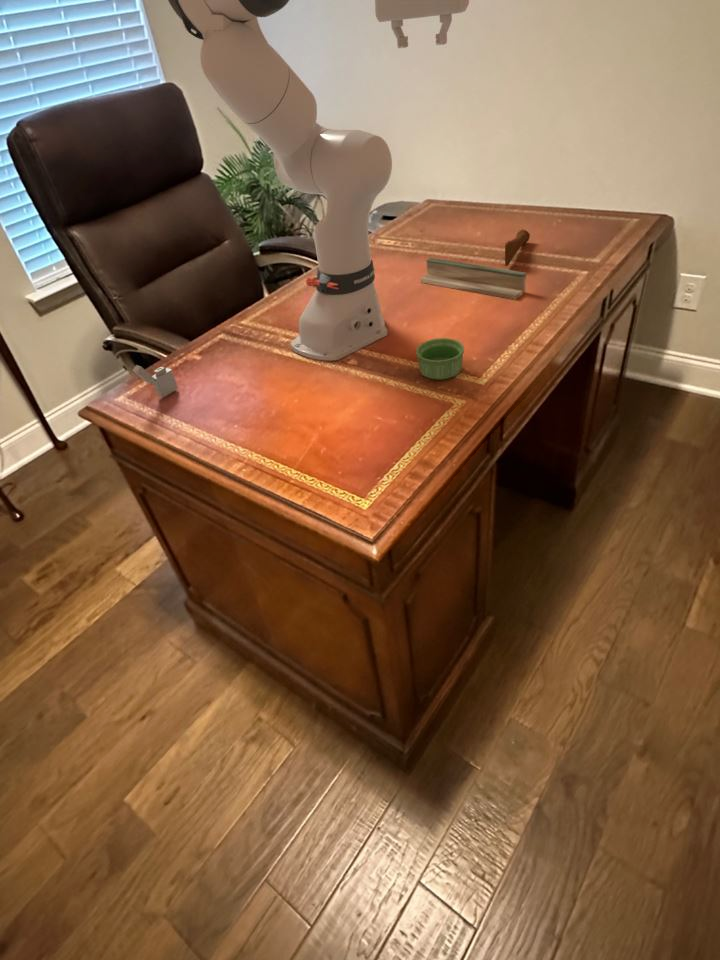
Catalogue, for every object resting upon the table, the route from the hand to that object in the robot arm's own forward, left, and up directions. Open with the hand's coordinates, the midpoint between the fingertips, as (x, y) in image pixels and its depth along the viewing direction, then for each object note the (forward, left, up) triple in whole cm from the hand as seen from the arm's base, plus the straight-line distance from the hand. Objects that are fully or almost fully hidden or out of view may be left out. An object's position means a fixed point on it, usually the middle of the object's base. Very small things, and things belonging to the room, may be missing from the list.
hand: (421, 46), depth 118 cm
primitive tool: (+16, -13, -50) cm, 54 cm away
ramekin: (-38, -28, -48) cm, 67 cm away
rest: (0, -13, -47) cm, 49 cm away
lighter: (-73, +16, -48) cm, 88 cm away
